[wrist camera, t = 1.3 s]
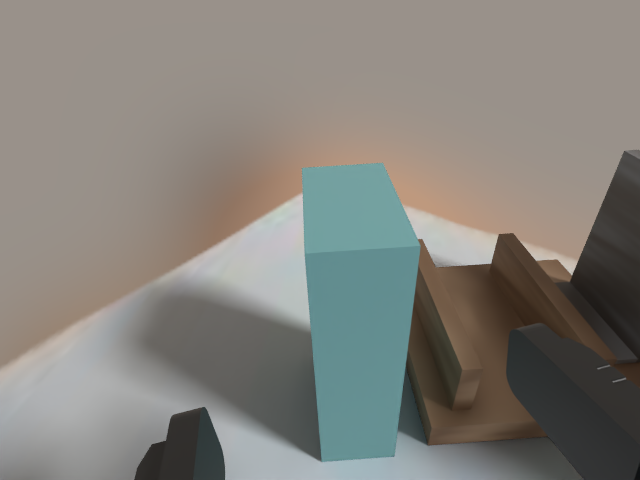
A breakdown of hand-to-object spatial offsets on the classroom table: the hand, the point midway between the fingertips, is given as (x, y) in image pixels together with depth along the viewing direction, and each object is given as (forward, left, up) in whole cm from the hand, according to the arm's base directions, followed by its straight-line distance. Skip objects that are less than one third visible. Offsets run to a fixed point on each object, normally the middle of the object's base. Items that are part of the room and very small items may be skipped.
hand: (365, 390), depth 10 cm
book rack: (+13, +14, -16) cm, 25 cm away
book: (+1, +10, -16) cm, 19 cm away
